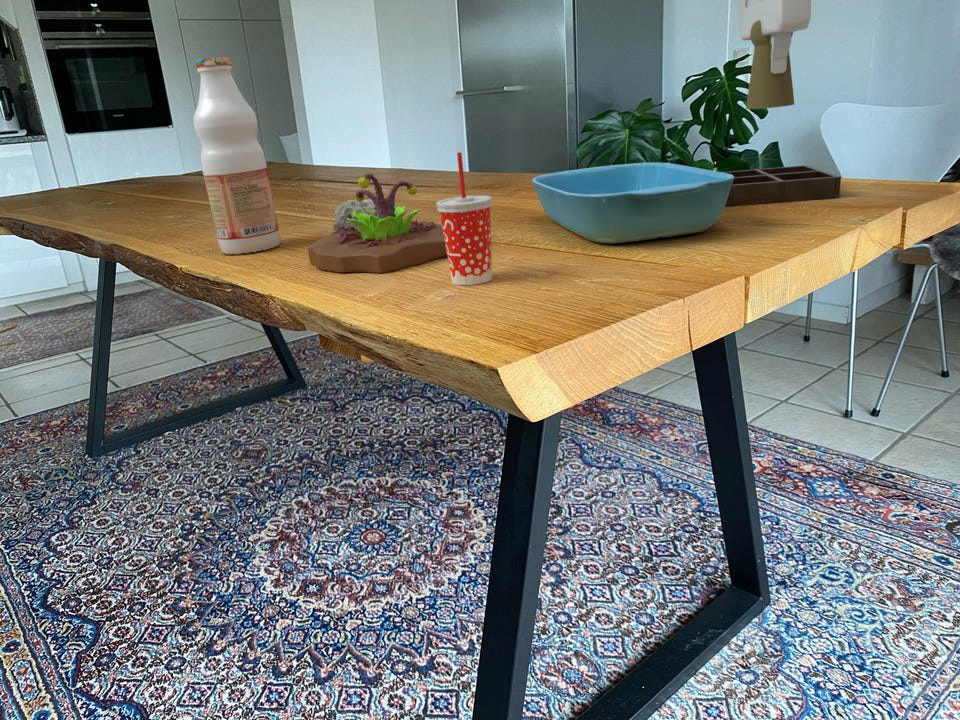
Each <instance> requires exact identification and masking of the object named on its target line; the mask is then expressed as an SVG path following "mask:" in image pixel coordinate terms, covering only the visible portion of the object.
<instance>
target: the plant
mask: <svg viewBox="0 0 960 720" xmlns="http://www.w3.org/2000/svg"><path fill="white" fill-rule="evenodd" d="M370 181H372V183H373V187H374V188H373V189H374V191H375V193H372V192H371V191H369V190H366V189H367V188H369V186H370V183H371V182H370ZM357 184H358V186H359V188H360V189H358V190H357V191H356V192H355V193H354V198H355V199H354V200H357V201H360V202H361V201H363V200H365V196H367V197H368V199H371V200H372V201H373V203H374V204H375V208H372V209H371V216H370V215H368V214H366V213H363V212H357V211H355V212H354V214H353V215H354V217H356V218H357V219H358V220H359V221H358V220H353V219H349V218H347V220H348V221H350V222H351V223H353V224H355V225H356V226H357V228H358V229H355V228H354V227H353V226H350V227H348V228H347V229H346V228H344V227H339V228H338V230H337V232H334V233H333V234H332V233H331V234H330V235H327V236H325V237H322V238H320V239H319V240H317V241H316V242H314V243H312V244H310V245H308V246H307V251H308V252H307V253H308V259H309V263H310V264H311V265H314V266H315V267H316V269H319V270H321V271H325V270H327V271H326V272H333V271H334V272H333V273H339V272H341V274H343V273H344V274H345V272H348V273H358V272H359V273H372V274H373V273H375V274H384V273H388V272H395V271H399V270H402V269H404V268H408V267H413V266H417V265H421V264H424V263H428V262H431V261H434V260H436V259H441V258H448V256H447V251H446V245H445V239H444V233H443V228H442V224H438V223H435V222H434V221H419V222H418V219H417V218H415V220H413V218H414V217H415V216H416V215H418V213H419V212H420V210H421V208H420V207H419V208H417V209H414V210H412V211H410V213H408V215H407V216H406V218H405V219H404V216H405V215H406V214H407V212H408V211H407V209H406V206H405V205H402V206H400V205H395V204H396V203H395V201H396V200H395V199H396V194H397V192H398V189H400V187H403V186H405V187H406V190H407V193H408V194H409V195H411V196H415V195H416V194H417V192H418V189H417V187H416V186H415V185H414V184H413V183H411V182H406V181H404V180H401V181H400V182H399V181H398V182H397V183H395V184H394V185H393V186H392V187H391V189H390V190H389V191H388V195H387V197H386V198H385V195H384V192H383V187H382V185H381V184H380V181H379V180H378V178H377V177H376V176H374V174H373V173H370V174H369V173H367V174H365V173H364V175H362V176H361V177H360V178H359V179H358V183H357ZM349 228H351V229H349ZM340 229H344V230H341V231H340V232H339V233H338V231H339V230H340Z"/></svg>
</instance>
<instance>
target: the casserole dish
mask: <svg viewBox="0 0 960 720" xmlns="http://www.w3.org/2000/svg"><path fill="white" fill-rule="evenodd" d="M722 172H723V171H716V170H711V169H706V168H699V167H694V166H690V165H689V166H688V165H685V164H684V165H683V164H677V163H670V162H659V161H658V162H657V161H655V162H636V163H633V162H632V163H626V164H625V163H623V164H611V165H602V166H601V165H600V166H594V167H585V168H578V169H577V168H576V169H571V170H564V171H558V172H557V171H556V172H551V173H545V174H542V175H538V176H535V177H533V178H532V180H531V181H532V185H533V187H534V189H535V192H536V194H537V197H538V200H539V202H540V205H541V207H542V209H543V211H544V213H545V214H546V216H547V217H548V218H549V219H550V220H551V221H553V222H555V223H556V224H558V225H560V226H561V227H562V228H565V229H567V230H568V231H570V232H572V233H574V234H576V235H578V236H580V237H582V238H585V239H586V240H589V241H592V242H596V243H602V244H618V243H619V244H620V243H628V242H638V241H639V242H640V241H645V240H655V239H658V238H660V237H661V238H668V237H677V236H683V235H689V234H695V233H701V232H705V231H707V230H708V229H709V228H711V226H713V225H714V224H715V223H716V222H717V221H718V220H719V219H720V218H721V216H722V214H723V211H724V209H725V207H726V206H725V204H726V202H727V198H728V195H729V192H730V189H731V186H732V183H733V180H734V176H733V175H731V174H728V173H722Z"/></svg>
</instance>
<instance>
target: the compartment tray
mask: <svg viewBox="0 0 960 720" xmlns="http://www.w3.org/2000/svg"><path fill="white" fill-rule="evenodd" d="M721 172H722V173H728V174H731V175H733V176H734V180H733V183H732V186H731V189H730V192H729V195H728V198H727V202H726V204H725V207H739V206H750V205H763V204H777V203H790V202H791V203H792V202H803V201H804V202H805V201H816V200H828V199H839V198H840V194H841V181H842V176H840V175H837V174H834V173H831V172H828V171H825V170H822V169H820V168H816V167H813V166H811V165H807V164H805V165H804V164H803V165H794V166H793V165H792V166H779V167H769V168H756V169H744V170H733V171H732V170H730V171H721Z"/></svg>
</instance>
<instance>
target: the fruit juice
mask: <svg viewBox="0 0 960 720" xmlns="http://www.w3.org/2000/svg"><path fill="white" fill-rule="evenodd" d="M195 67H196V70H197V73H199V75H200V76H199V77H200V85H199V94H198V101H197V102H198V103H197V106H196V109H195V112H194V114H193V119H192V123H193V130H194V132H195V134H196V136H197V138H198V140H199V142H200V146H201V151H200V164H201V171H202V176H203V179H204V184H205V187H206V192H207V193H206V194H207V197H208V198H207V199H208V202H209V206H210V211H211V215H212V220H213V224H214V228H215V234H216V239H217V242H218V247H219V250H220V251H221V253H222V254H224V253H225V254H224V255H232V254H233V255H243V254H242V253H247V254H251V253H250V252H254V253H257V252H256V251H260V252H262V251H261V250H264V251H266V250H265V249H268V250H270V249H269V248H272V249H274V248H273V247H275V248H277V247H278V246H280V245H281V234H280V228H279V224H278V218H277V213H276V209H275V202H274V196H273V193H272V187H271V182H270V177H269V171H268V165H267V161H266V156H265V153H264V150H263V148H262V147H261V145H260V143H259V141H258V119H257V116H256V113H255V111H254V109H253V108H252V107H251V106H250V105H249V104H248V102H247V101H246V100H245V97H243V94H242V93H241V91H240V89H239V88H238V86H237V83H236V82H235V80H234V78H233V75H232V70H233V68H232V62H231V59H230V58H229V57H211V58H210V57H209V58H201V59H197V60H195ZM276 246H277V247H276Z"/></svg>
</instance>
